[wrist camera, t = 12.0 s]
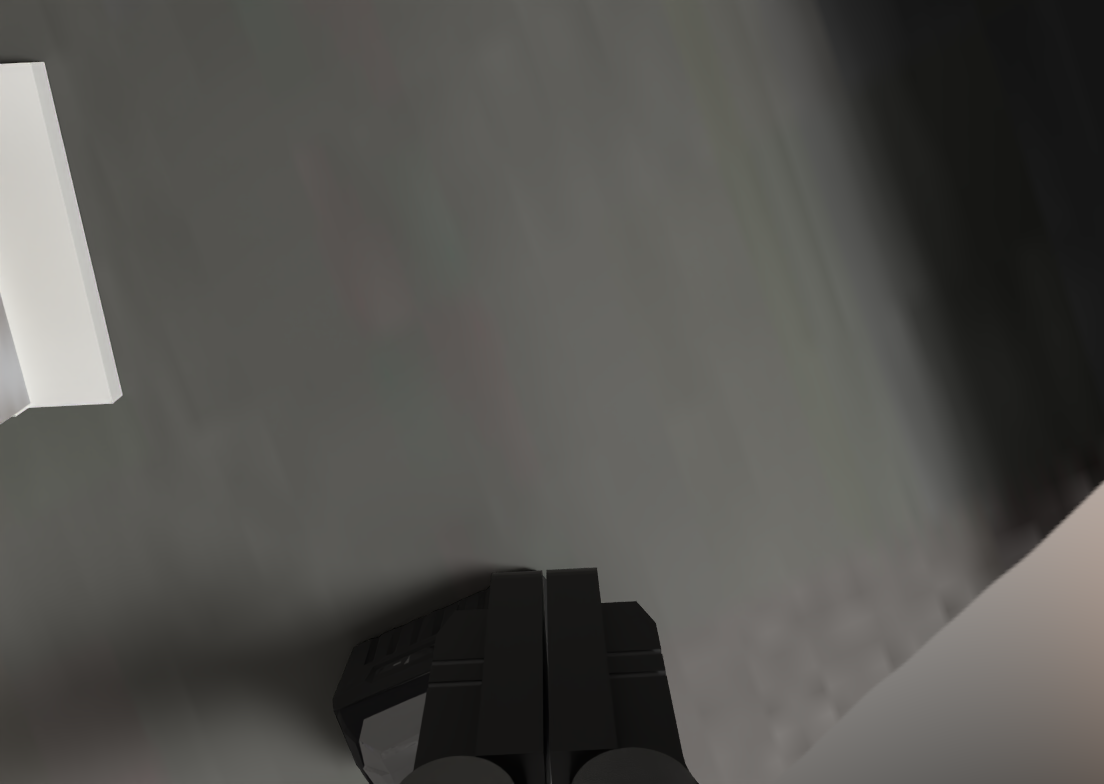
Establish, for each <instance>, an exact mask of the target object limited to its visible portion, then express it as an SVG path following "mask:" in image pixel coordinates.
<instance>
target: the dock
mask: <svg viewBox="0 0 1104 784" xmlns="http://www.w3.org/2000/svg"><path fill="white" fill-rule="evenodd" d="M0 294H1V298H2V301H3V305H4V309H5V312H6V316H7V320H8V323H9V327H10V330H11V334H12V338H13V341H14V345H15V348H16V352H17V356H18V359H19V363H20V367H21V370H22V374H23V377H24V381H25V385H26V388H27V392H28V396H29V399H30V404H29V405H27V406H26V407H24V408H23V409H22V410H20V411H19V412H17V413H16V414H14V415H13V416H12V417H15V416H17V415H19V414H20V413H22V412H23V411H24V410H26V409H27V408H31V407H51V406H71V405H91V404H111V403H114V402H115V401H116V400H117V399H119V398H120V397H121V396H122V395H123V394H122V390H121V386H120V382H119V377H118V373H117V369H116V365H115V360H114V356H113V352H112V348H111V343H110V339H109V335H108V331H107V327H106V322H105V318H104V314H103V310H102V305H101V301H100V297H99V293H98V288H97V284H96V280H95V276H94V271H93V267H92V263H91V259H90V254H89V250H88V246H87V242H86V238H85V233H84V229H83V225H82V221H81V216H80V212H79V208H78V204H77V199H76V195H75V191H74V187H73V182H72V178H71V174H70V170H69V165H68V161H67V157H66V153H65V148H64V144H63V140H62V136H61V132H60V127H59V123H58V119H57V115H56V110H55V106H54V102H53V98H52V93H51V89H50V85H49V81H48V76H47V72H46V68H45V64H44V62H30V63H10V64H0Z"/></svg>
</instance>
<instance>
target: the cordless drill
mask: <svg viewBox="0 0 1104 784" xmlns="http://www.w3.org/2000/svg"><path fill="white" fill-rule="evenodd" d="M531 571H532V570H531ZM543 587H544V604H545V620H546V637H547V654H548V628H547V580H546V579H545V577H544V576H543ZM489 595H490V588H488V589H487V590H486V591H482V592H478V593H476V594H474V595H472V596H470V597H468V598H466V599H463V600H461V601H459V602H457V603H454V604H452V605H450V606H448V607H446V608H443V609H440V610H437V611H435V612H433V613H431V614H429V615H427V616H425V617H423V618H420V619H417V620H414V621H412V622H410V623H408V624H406V625H404V626H402V627H399V628H396V629H393V630H391V631H389V632H387V633H384V634H382V635H381V636H380V637H379V638H374V639H371V640H368V641H366V642H364V643H362V644H360V645H358V646H355V647H354V648H353V651H352V653H351V656H350V658H349V661H348V663H347V665H346V668H345V670H344V673H343V675H342V678H341V680H340V682H339V685H338V687H337V690H336V692H335V695H334V697H333V708H334V713H335V715H336V717H337V720H338V722H339V725H340V727H341V729H342V732H343V734H344V737H345V739H346V741H347V744H348V746H349V749H350V751H351V753H352V756H353V758H354V760H355V763H356V765H357V766H358V768H359V769H360V770H361V772H362V774H363V775H364V777H365V778H366V779H367V781H368V782H369V784H400V783H401V781H402V780H403V779H404V778H405V777H406V776H408V775H409V774H410V773H411V772H413V769H414V763H415V757H416V752H417V746H418V740H419V734H420V728H421V722H422V716H423V711H424V705H425V699H426V693H427V688H428V681H429V675H430V670H431V666H432V658H433V652H434V646H435V640H436V634H437V633H438V632H439V630H440V629H441V628H442V627H443V625H444V624H445V623H446V622H447V620H448V619H449V618H450V617H451V615H452V614H453V613H454V612H455V610H475V609H488V606H489ZM551 784H552V781H551Z"/></svg>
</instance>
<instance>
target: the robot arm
mask: <svg viewBox="0 0 1104 784" xmlns="http://www.w3.org/2000/svg"><path fill="white" fill-rule="evenodd" d="M547 628H548V654H547V637H546V620H545V604H544V587H543V573H542V570H541V571H521V572H501V573H492V575H491V583H490V595H489V606H488V609H475V610H455V612H454V613H453V614H452V615H451V617H450V618H449V619H448V620H447V622H446V623H445V624H444V625H443V627H442V628H441V629H440V630H439V632H438V633H437V634H436V640H435V646H434V652H433V658H432V666H431V670H430V675H429V681H428V688H427V693H426V699H425V705H424V711H423V716H422V722H421V728H420V734H419V740H418V746H417V752H416V757H415V763H414V769H413V772H411V773H410V774H409V775H408V776H406V777H405V778H404V779H403V780H402V781H401V783H400V784H551V781H552V784H699V783H698V782H697V781H696V780H695V779H694V777H693V776H692V775H691V773H690V772H689V770H688V768H687V766H686V764H685V761H684V757H683V753H682V749H681V744H680V739H679V734H678V729H677V724H676V719H675V714H674V710H673V705H672V700H671V695H670V690H669V685H668V680H667V676H666V672H665V666H664V661H663V656H662V654H661V646H660V641H659V636H658V632H657V627H656V623H655V622H654V621H653V619H652V618H651V617H650V616H649V615H648V614H647V613H646V612H645V611H644V609H643V608H642V607H641V606H640V605H639V604H638V603H637V602H636V601H633V602H613V603H601V599H600V591H599V582H598V573H597V568H578V569H558V570H547Z"/></svg>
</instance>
